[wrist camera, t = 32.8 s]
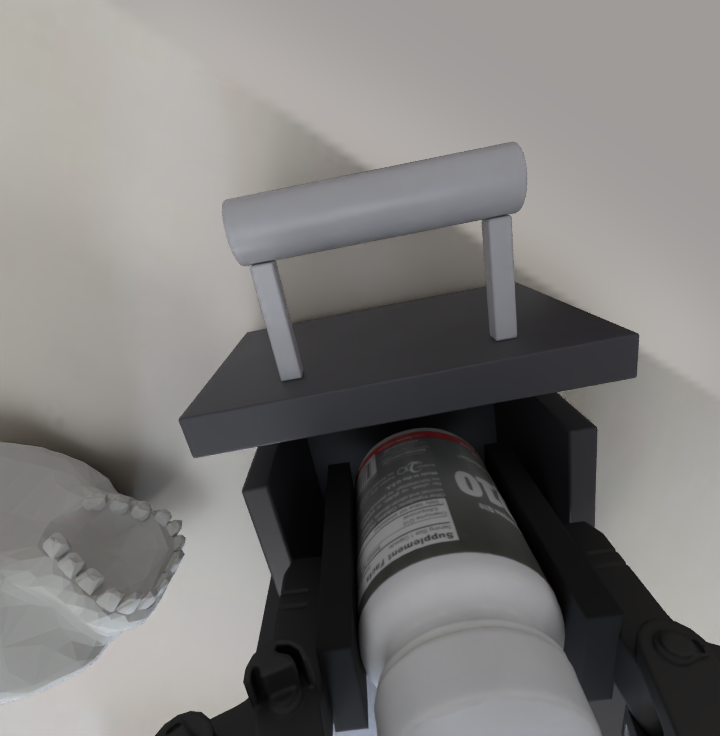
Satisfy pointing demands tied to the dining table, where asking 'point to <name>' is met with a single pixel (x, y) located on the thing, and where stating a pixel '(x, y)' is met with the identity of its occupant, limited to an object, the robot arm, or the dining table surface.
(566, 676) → the pill bottle
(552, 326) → the drawer
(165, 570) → the white and red skull
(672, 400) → the dining table surface
